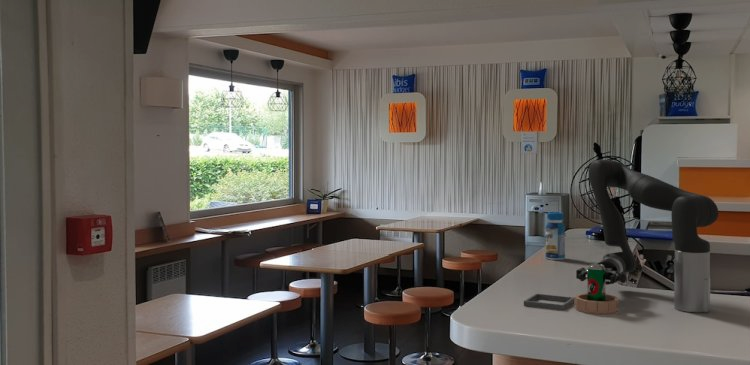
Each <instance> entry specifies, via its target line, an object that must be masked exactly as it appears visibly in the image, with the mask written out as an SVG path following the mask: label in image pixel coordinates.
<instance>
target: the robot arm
mask: <svg viewBox="0 0 750 365" xmlns="http://www.w3.org/2000/svg"><path fill="white" fill-rule="evenodd" d="M588 181H589V183H590V186H591V190H592V192H593V195H594V199H595V202H596V205H597V208H598V211H599V214H600V218H601V224H602V231H603V236H604V237H603V238H604V242H605V245H606V246H608V247H619V248H620V249H621V251H618V252H616V251H615V252H611V253H606V254H604V255H603V257H602V259H601V260H599V261H598V262H597V263H596V264H600V265H604V267H605V269H606V286H607V285H608V286H609V285H614V284H615V283H616V284H618V283H619V282H620V283H622V284H625V283H626V282H627V281H628V273H632V272H634V271H635V270H636V268H637V260H636V256H635V255H634V253H633V251H632V249H631V247H630V244H629V242H628V238H627V233H626V227H625V221H624V219H623V215H622V214H621V212H620V211H619V209H618V207H617V206H616V205H615V203H614V202H613V200H612V198H611V197H610V194H609V191H608V188H618V189H620V190H621V189H622V190H624V191H626V192H627V193H628V194H629V196H630V198H631V199H633V201H634V202H635V201H636V202H637V203H639V204H641V205H644V206H645V207H648V208H652V209H657V210H662V211H666V212H667V211H668V212H671V213H670V214H671V230H672V231H671V232H672V233H671V235H672V240H673V244H674V296H673V297H674V299H673V300H674V301H673V304H674V309H676V310H678V311H682V312H686V313H687V312H688V313H706V314H707V313H709V311H710V309H711V276H710V275H711V274H710V273H711V272H710V268H711V267H710V266H711V265H710V264H711V262H710V261H711V259H710V258H711V245H710V242H709V241H708V240H706V239H703V238H701V237H700V236H699V234H698V228H704V227H709V226H711V225H713V224H714V223H715V222H716V221H717V220H718V218H719V208H718V205H717V204H716V202H715V201H714V200H713V199H712V198H711V197H708V196H707V195H704V194H700V193H699V194H698V193H695V192H690V191H688V190H684V189H683V188H682V189H681V188H680V187H677V186H674V185H673V184H670V183H668V182H665V181H663V180H661V179H659V178H657V177H653V176H651V175H649V174H645V173H643V172H639V171H635V170H633V169H632V168H630V167H628V166H627V165H625V164H624V163H622V162H619V161H616V160H607V159H605V160H604V159H596V160H594V161H592V162H591V163H590V165H589V167H588ZM575 274H576V276H575V277H576V279H577V280H580V282H584V281H586V280H587V275H588V268H585V267H581V268H578V269H576V273H575Z"/></svg>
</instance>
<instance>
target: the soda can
mask: <svg viewBox="0 0 750 365" xmlns="http://www.w3.org/2000/svg"><path fill="white" fill-rule="evenodd" d="M587 269H588V275H587V274H586V277H587V279H586V280H587V281H586V282H587V285H586V286H587V290H586V291H587V292H586V293H587V300H588V301H605V294H606V286H607V285H606V269H605V267H604V265H600V264H597V263H592V264H591V263H590V264H589V265H588V268H587Z"/></svg>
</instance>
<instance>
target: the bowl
mask: <svg viewBox="0 0 750 365" xmlns="http://www.w3.org/2000/svg"><path fill="white" fill-rule="evenodd" d="M573 305H574V309H575V310H576V311H578V312H580V313H584V314H590V315H591V314H592V315H611V314H612V315H613V314H617V313H618V312H619V306H620V298H619V297H617V296H615V295H610V294H607V293H605V301H588V300H587V292H584V293H579V294H576V295H575V296H574V303H573Z"/></svg>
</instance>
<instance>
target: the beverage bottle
mask: <svg viewBox="0 0 750 365" xmlns="http://www.w3.org/2000/svg"><path fill="white" fill-rule="evenodd" d="M546 218H547V221H548V222H547V223H546V225H545V231H546V232H545V233H544V235H545V258H546V259H547V260H552V261H562V260H565V259H566V253H565V252H566V248H565V247H566V226H565V224H564V222H563V221H564V212H563V211H562V212H561V211H550V212H547V216H546Z"/></svg>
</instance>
